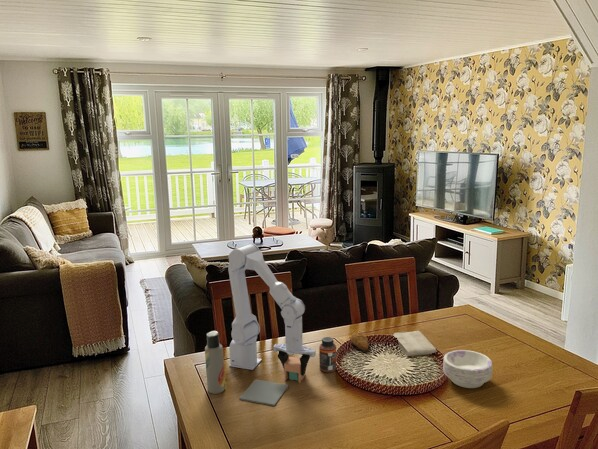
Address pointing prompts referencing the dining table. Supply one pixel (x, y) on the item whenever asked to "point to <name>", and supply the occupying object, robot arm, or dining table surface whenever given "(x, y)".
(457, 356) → the paper bowls
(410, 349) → the washcloth
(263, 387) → the slate mat
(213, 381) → the lotion bottle
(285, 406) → the dining table surface
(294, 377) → the teal cube
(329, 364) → the supplement bottle
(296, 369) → the terracotta cover
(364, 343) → the croissant
